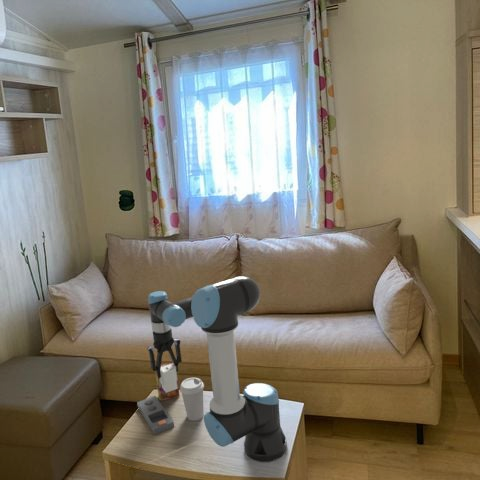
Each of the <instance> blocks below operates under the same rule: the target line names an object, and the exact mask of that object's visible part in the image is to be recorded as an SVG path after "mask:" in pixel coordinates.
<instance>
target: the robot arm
mask: <svg viewBox="0 0 480 480" xmlns="http://www.w3.org/2000/svg"><path fill="white" fill-rule="evenodd" d="M147 297H148V298H147V299H148V300H147V301H148V302H147V303H148V311H149V315H150V322H151V329H152V337H153V343H152V344H153V345H150V346H148V347H147V348H146V349H147V351H148V354H149V361H150V368H151V370H152V371H153V372H155V371H156V372H157V376H158V378H160V383H161V384H162V385H164V379H163V372H162V369H161V365H162V360H163V359H162V358H163V356H164V355H163V354H164V353H165V352H168V353H169V356H170V359H171V361H172V363H174V364H172V366H173V367H174V368H175V373H176V372H177V374H176V380H177V379H178V372H179V364H181V362H182V354H181V346H180V345H181V340H180V339H179V338H177V337H176V338H173V331H172V327H173V328H178V327H180V326H182V324H184V323H185V321H186V320H188V319H192V318H193V320H194V323H195V324H196V325H197V326H198V327H200V328H201V330H202V332H204V333H205V334H206V339H207V342H206V343H207V351H208V358H209V359H208V360H209V369H210V377H211V380H210V381H211V387H212V396H213V397H212V398H211V400H209V412H207V411H206V413H205V414H204V416H203V422H204V425H205V428H206V431H207V432H208V434H209V436H210V438H211V439H212V440H213V442H214V443H215V444H216V445H217V446H220V447H227V446H229V445H231V444H234V443H235V442H236V441H238V440H240V439H242V438H244V440H243V450H244V452H245V454H246V456H247V457H248V458H250V459H252V461H253V460H254V461H257V462H263V463H265V462H272V461H276V460H278V459H280V458H282V457H283V456H284V455H285V454H286V451H287V448H288V443H287V437H286V436H285V435H286V434H285V433H284V431H283V429H282V427H281V417H280V415H281V414H280V404H279V403H280V399H279V393H278V391H277V389H276V388H275V387H273V386H272V385H270V384H268V383H261V382H255V383H250V384H247V385H246V386H245V387H244V389H243V392H242V393H243V395H241V394H240V382H239V371H238V363H237V362H238V361H237V351H236V350H237V349H236V338H235V337H236V336H235V330H236V329H237V328H238V326H239V316H241V315H244V314H246V313H249V312H251V311H252V310H254V309H255V307H256V306H257V305H258V304H259V301H260V300H261V288H260V286H259V284H258V282H257V281H256V280H254V279H252V278H251V277H249V276H236V277H232V278H230V279H226V280H223V281H219V282H217V283H212V284H208V285H205V286H204V287H202V288H199V289H197V290H195V292H194V293H193V295H192V296H190V297H187V298H185V299H181V300H177V301H174V302H171V301H169V300H168V299H169V298H168V294H167V292H166V291H163V290H159V291H157V290H156V291H154V292H151V293H149V294H148V296H147ZM173 345H174V347H175V354H174V351H173V348H172V346H173ZM155 349H156V350H157V351H156V353H157V355H156V360H155V353H154V352H155ZM155 365H156V366H155ZM279 457H280V458H279ZM277 458H278V459H277Z"/></svg>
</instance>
